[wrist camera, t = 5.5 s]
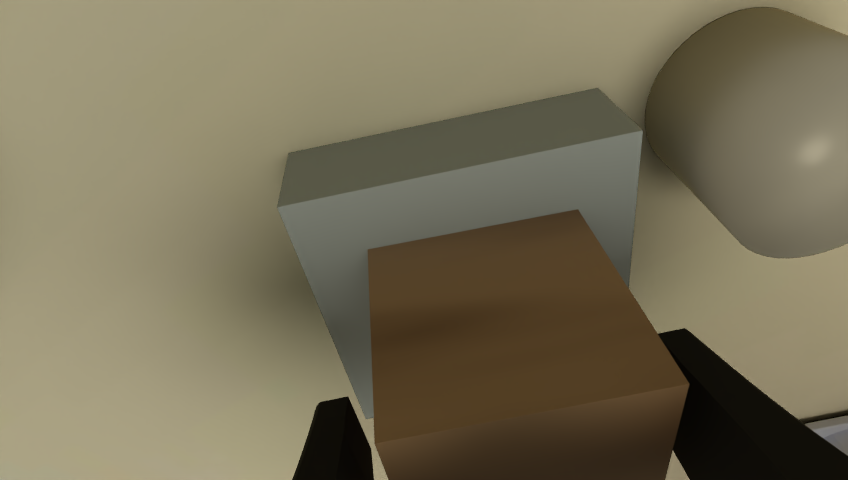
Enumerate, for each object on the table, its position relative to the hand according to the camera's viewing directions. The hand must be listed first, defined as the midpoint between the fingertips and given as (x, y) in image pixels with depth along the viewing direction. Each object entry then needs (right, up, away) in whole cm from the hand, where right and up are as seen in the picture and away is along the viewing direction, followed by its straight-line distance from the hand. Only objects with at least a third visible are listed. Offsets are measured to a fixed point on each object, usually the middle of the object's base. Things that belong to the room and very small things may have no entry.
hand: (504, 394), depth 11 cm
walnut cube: (0, +2, +2) cm, 3 cm away
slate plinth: (-1, +4, +5) cm, 6 cm away
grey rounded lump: (+6, +7, +2) cm, 10 cm away
